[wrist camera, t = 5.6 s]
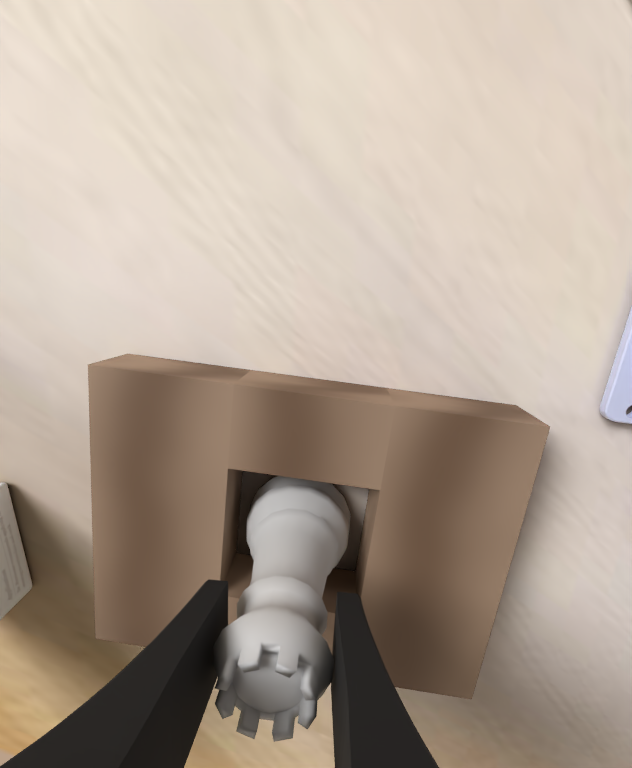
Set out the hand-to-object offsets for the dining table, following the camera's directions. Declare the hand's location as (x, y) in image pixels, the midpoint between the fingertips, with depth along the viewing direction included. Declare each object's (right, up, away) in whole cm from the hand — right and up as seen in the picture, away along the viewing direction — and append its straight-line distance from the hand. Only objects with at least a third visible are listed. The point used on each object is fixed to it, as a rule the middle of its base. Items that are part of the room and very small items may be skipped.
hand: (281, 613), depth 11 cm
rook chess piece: (0, +1, +6) cm, 6 cm away
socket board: (0, +1, +5) cm, 6 cm away
